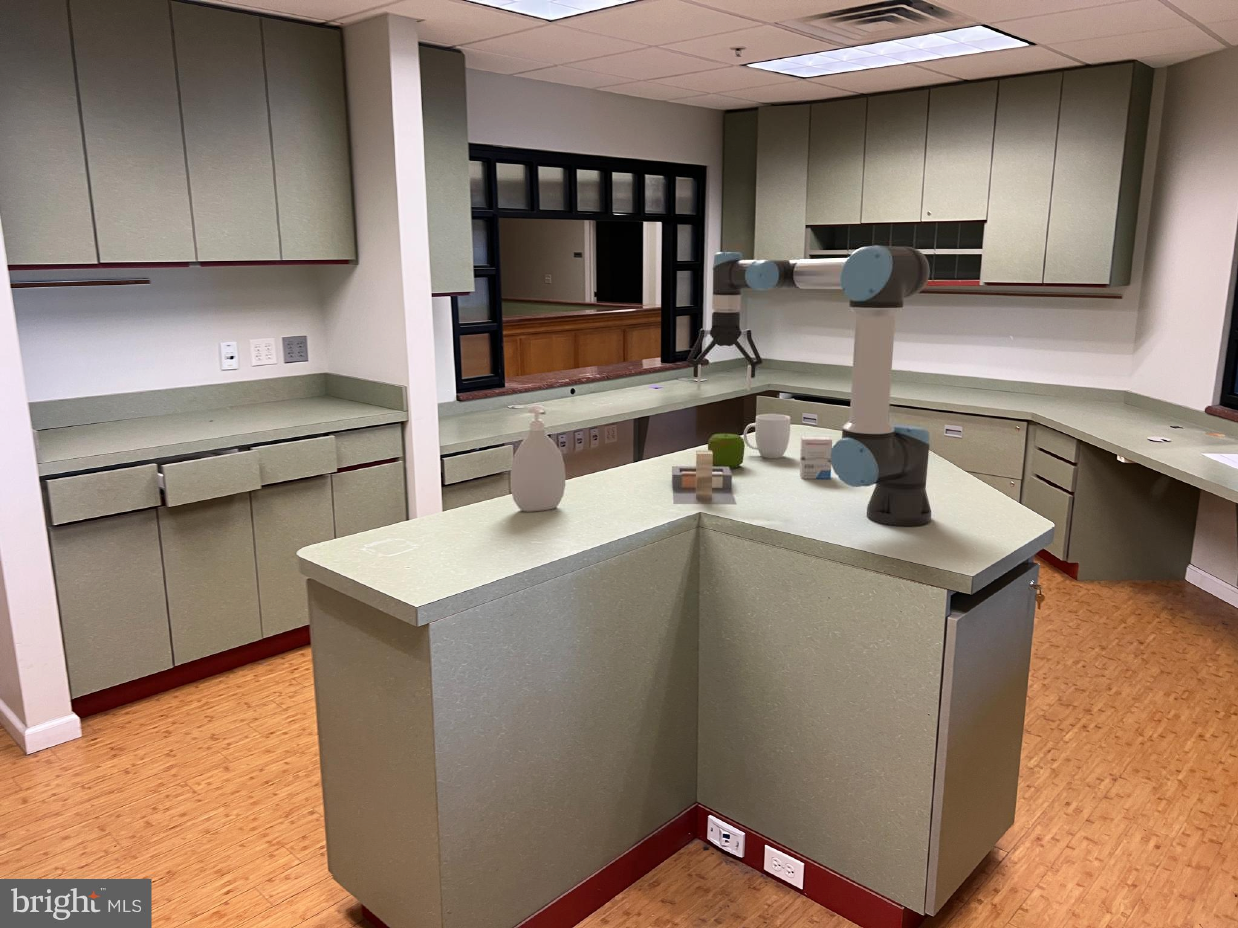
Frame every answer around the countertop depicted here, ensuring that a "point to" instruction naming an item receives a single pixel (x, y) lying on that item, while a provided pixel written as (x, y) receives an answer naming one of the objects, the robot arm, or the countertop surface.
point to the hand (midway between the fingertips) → (723, 389)
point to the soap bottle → (537, 469)
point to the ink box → (815, 457)
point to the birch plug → (704, 474)
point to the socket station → (687, 486)
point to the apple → (726, 450)
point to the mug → (770, 435)
